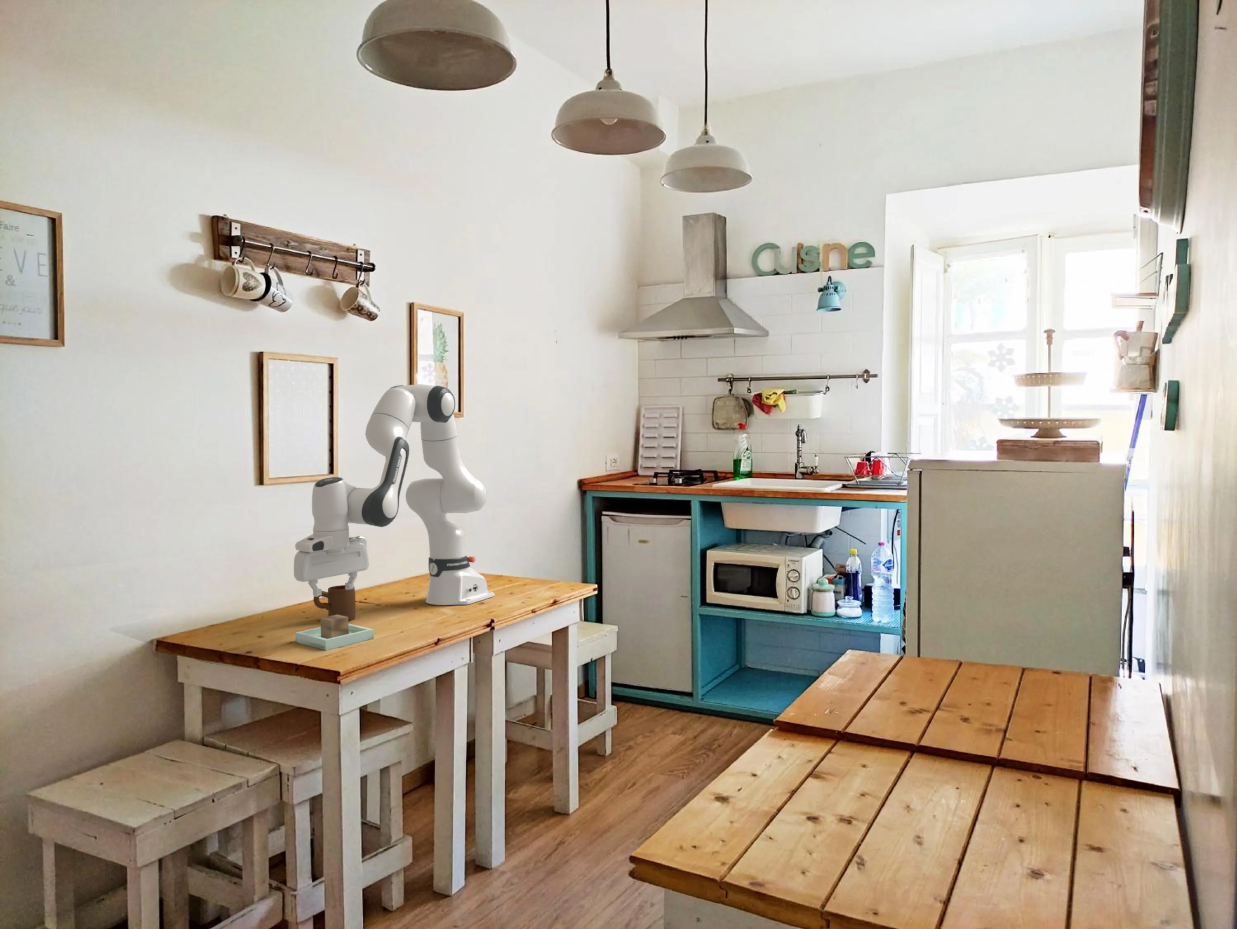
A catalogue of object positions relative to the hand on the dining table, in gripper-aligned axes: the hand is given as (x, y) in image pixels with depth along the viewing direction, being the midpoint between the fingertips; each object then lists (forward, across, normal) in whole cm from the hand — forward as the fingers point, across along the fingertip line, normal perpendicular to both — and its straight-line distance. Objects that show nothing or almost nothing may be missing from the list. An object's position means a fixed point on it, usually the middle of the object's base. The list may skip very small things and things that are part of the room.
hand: (333, 592), depth 224 cm
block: (+11, +1, 0) cm, 11 cm away
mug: (+13, -12, -20) cm, 27 cm away
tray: (+12, +1, 0) cm, 12 cm away
